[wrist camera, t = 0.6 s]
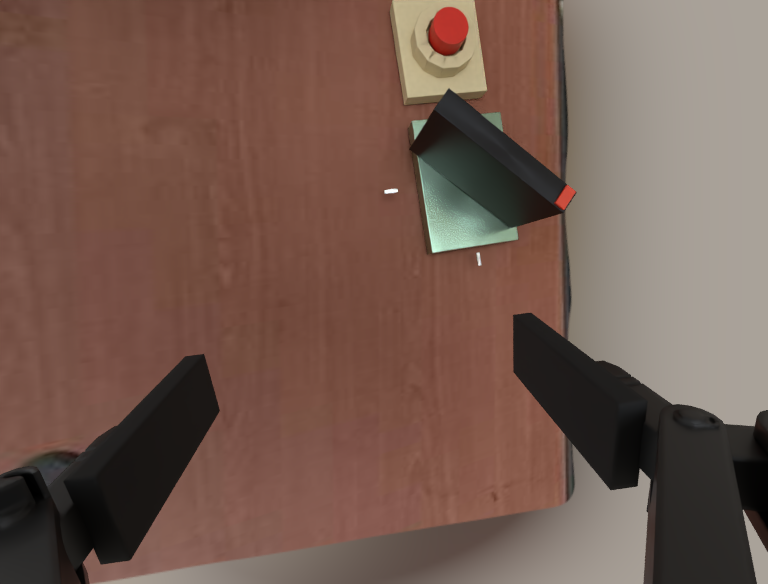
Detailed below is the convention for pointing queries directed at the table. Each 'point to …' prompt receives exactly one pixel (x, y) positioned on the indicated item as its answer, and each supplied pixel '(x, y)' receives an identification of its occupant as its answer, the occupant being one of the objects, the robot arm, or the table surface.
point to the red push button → (448, 30)
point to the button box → (435, 53)
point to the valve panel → (453, 207)
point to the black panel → (489, 164)
